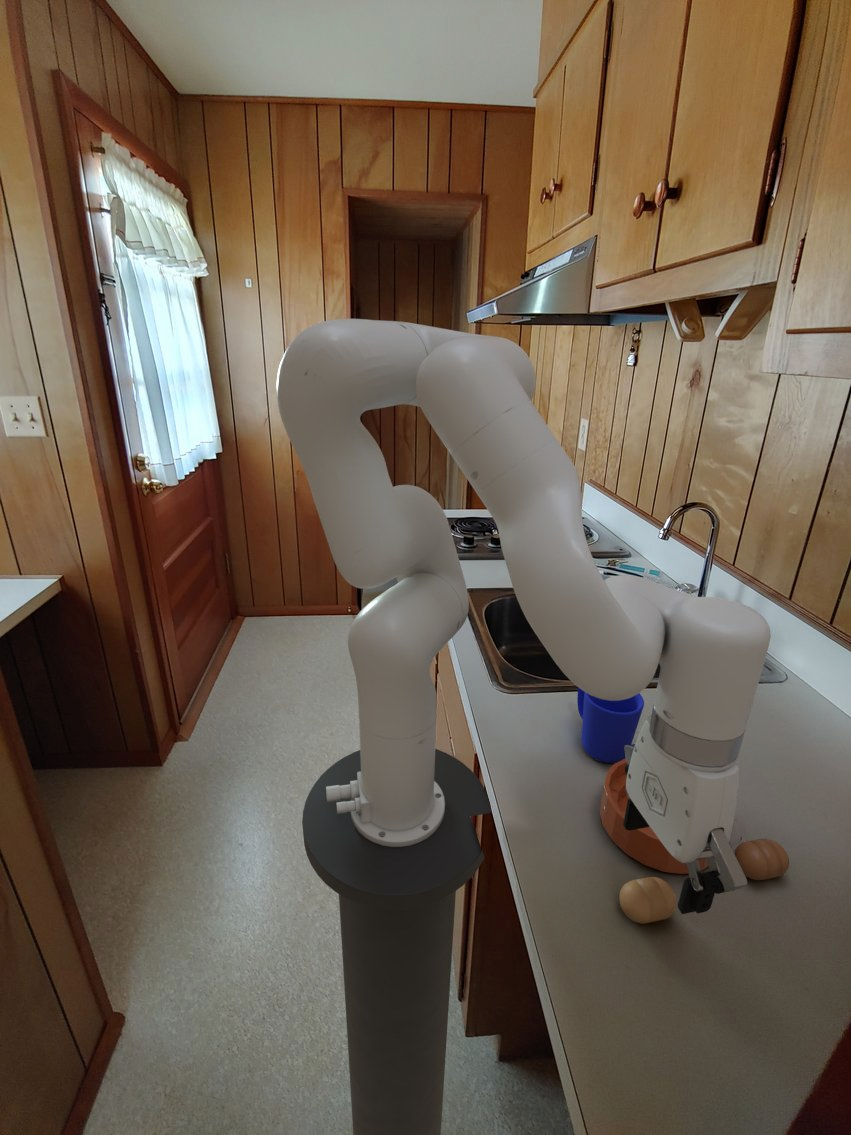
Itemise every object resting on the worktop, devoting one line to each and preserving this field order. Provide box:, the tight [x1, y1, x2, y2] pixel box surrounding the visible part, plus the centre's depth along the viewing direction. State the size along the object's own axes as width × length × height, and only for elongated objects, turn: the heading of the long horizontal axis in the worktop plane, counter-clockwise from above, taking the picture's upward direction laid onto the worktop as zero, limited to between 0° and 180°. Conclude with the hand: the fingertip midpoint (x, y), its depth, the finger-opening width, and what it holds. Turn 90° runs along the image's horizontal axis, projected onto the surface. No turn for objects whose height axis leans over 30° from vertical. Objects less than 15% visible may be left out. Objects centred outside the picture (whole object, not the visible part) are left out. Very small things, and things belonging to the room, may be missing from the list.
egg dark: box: [734, 838, 790, 881], centre depth 64 cm, size 6×4×4 cm, turn 102°
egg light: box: [619, 876, 677, 924], centre depth 59 cm, size 6×4×4 cm, turn 102°
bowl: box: [598, 758, 709, 875], centre depth 69 cm, size 14×14×5 cm
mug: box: [576, 687, 645, 764], centre depth 83 cm, size 8×12×10 cm
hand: (663, 864), depth 57 cm, fingers open, 9 cm apart
